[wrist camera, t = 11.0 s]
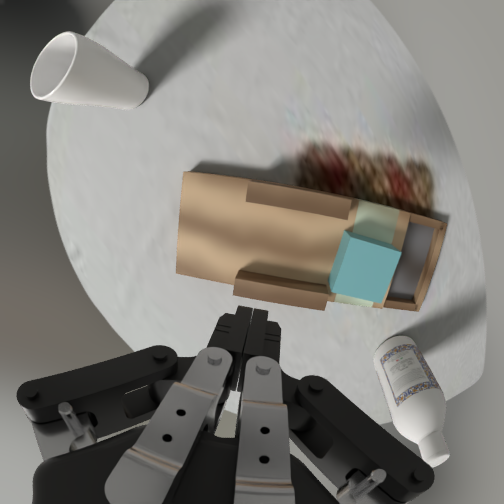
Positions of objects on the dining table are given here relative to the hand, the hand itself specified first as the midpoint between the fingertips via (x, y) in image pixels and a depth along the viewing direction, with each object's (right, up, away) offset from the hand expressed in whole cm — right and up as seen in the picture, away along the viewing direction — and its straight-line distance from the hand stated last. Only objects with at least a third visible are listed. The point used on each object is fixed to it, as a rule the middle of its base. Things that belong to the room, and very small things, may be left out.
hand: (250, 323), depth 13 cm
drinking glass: (-15, +24, +14) cm, 32 cm away
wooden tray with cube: (+8, +4, +17) cm, 20 cm away
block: (+12, +2, +15) cm, 20 cm away
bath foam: (+21, -11, +21) cm, 32 cm away
